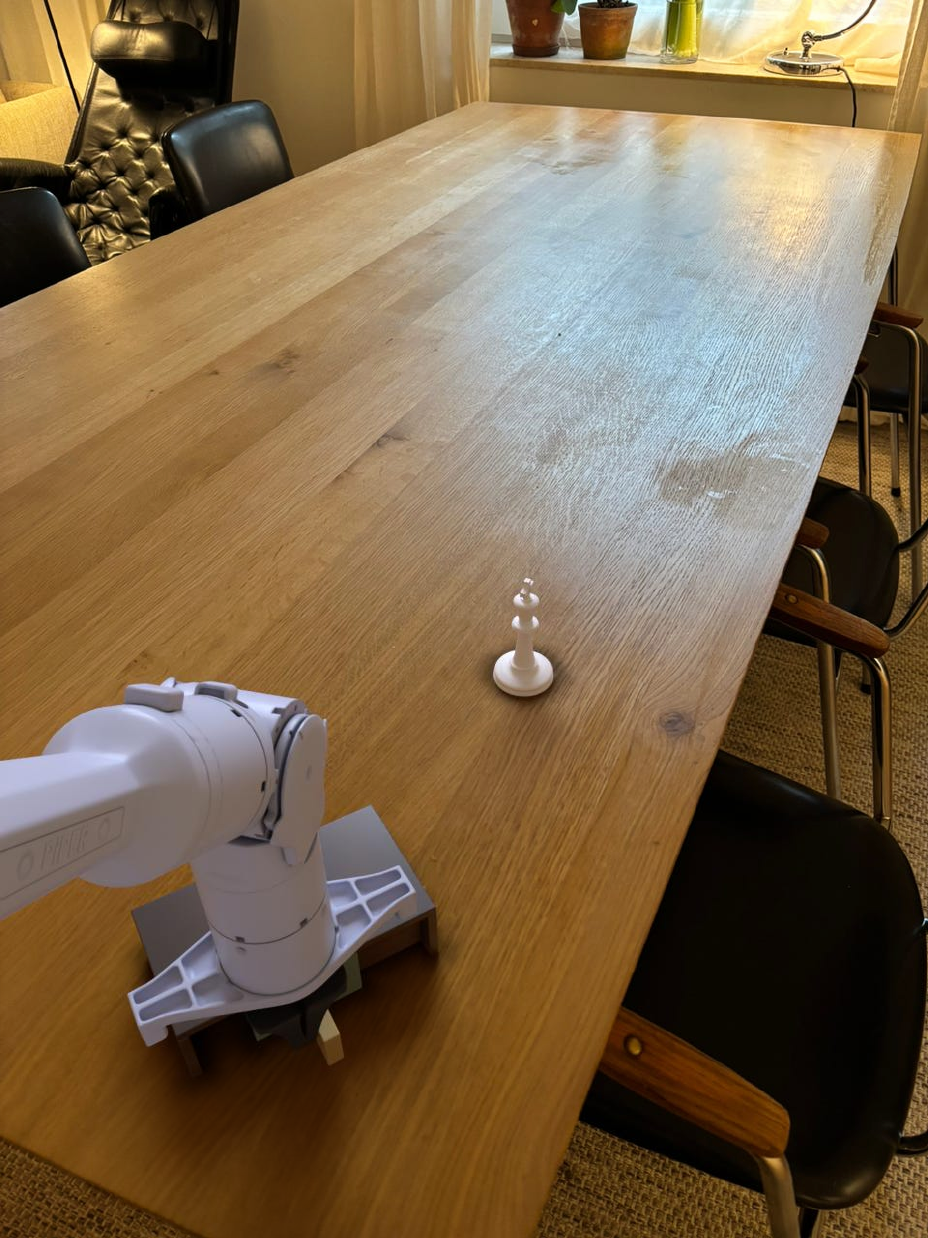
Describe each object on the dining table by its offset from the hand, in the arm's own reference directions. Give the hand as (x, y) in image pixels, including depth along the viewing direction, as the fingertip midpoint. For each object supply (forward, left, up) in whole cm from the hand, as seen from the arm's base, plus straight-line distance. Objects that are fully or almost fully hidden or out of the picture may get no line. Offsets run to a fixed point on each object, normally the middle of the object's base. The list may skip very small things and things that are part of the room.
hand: (299, 1030), depth 55 cm
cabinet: (+2, +7, -4) cm, 8 cm away
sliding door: (+1, +1, -3) cm, 4 cm away
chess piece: (+28, +21, -4) cm, 35 cm away
